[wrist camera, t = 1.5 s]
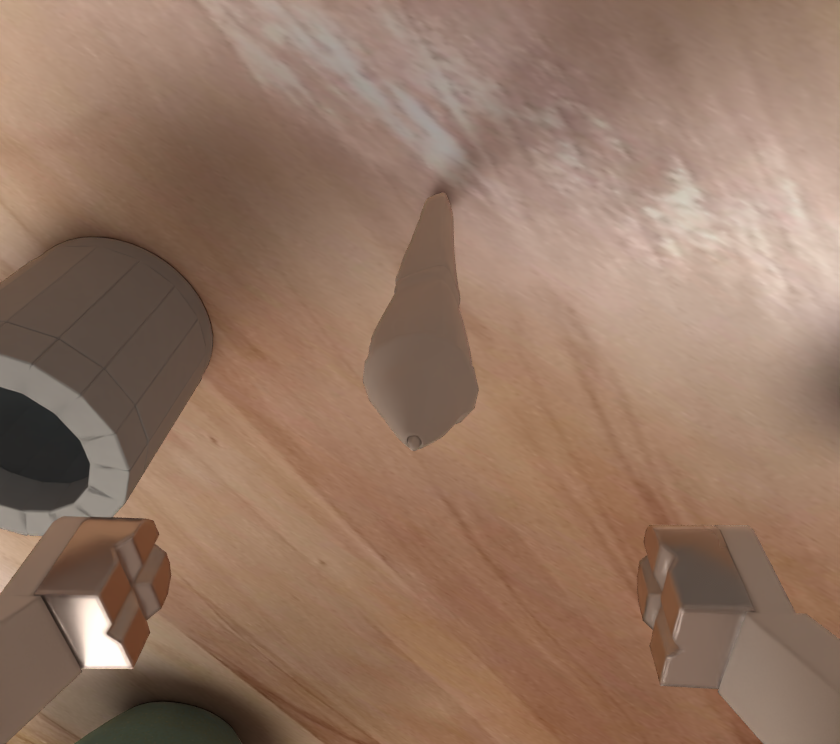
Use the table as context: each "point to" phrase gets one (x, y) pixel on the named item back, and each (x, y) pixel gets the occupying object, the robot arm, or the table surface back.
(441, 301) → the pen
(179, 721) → the green bowl
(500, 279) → the table surface
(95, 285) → the grey faceted canister
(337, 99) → the table surface
